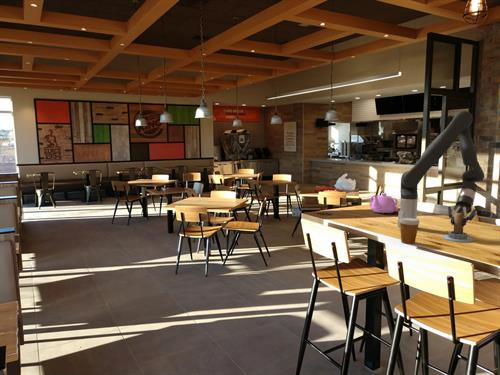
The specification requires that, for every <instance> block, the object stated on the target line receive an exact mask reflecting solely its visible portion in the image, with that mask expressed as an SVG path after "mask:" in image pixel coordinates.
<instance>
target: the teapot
mask: <svg viewBox="0 0 500 375" xmlns="http://www.w3.org/2000/svg"><path fill="white" fill-rule="evenodd" d="M369 207H370V209H371V210H372V211H373V212H375V213H380V214H384V213H387V214H393V213H394V212H396V211H397V212H398V211H399V207H398V199H397V198H395V197H392V196H391V195H387V193H386V192H382V193H381V194H379V195H378V194H377V195H375V194H373V195H372V196H371V197H370V204H369Z"/></svg>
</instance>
